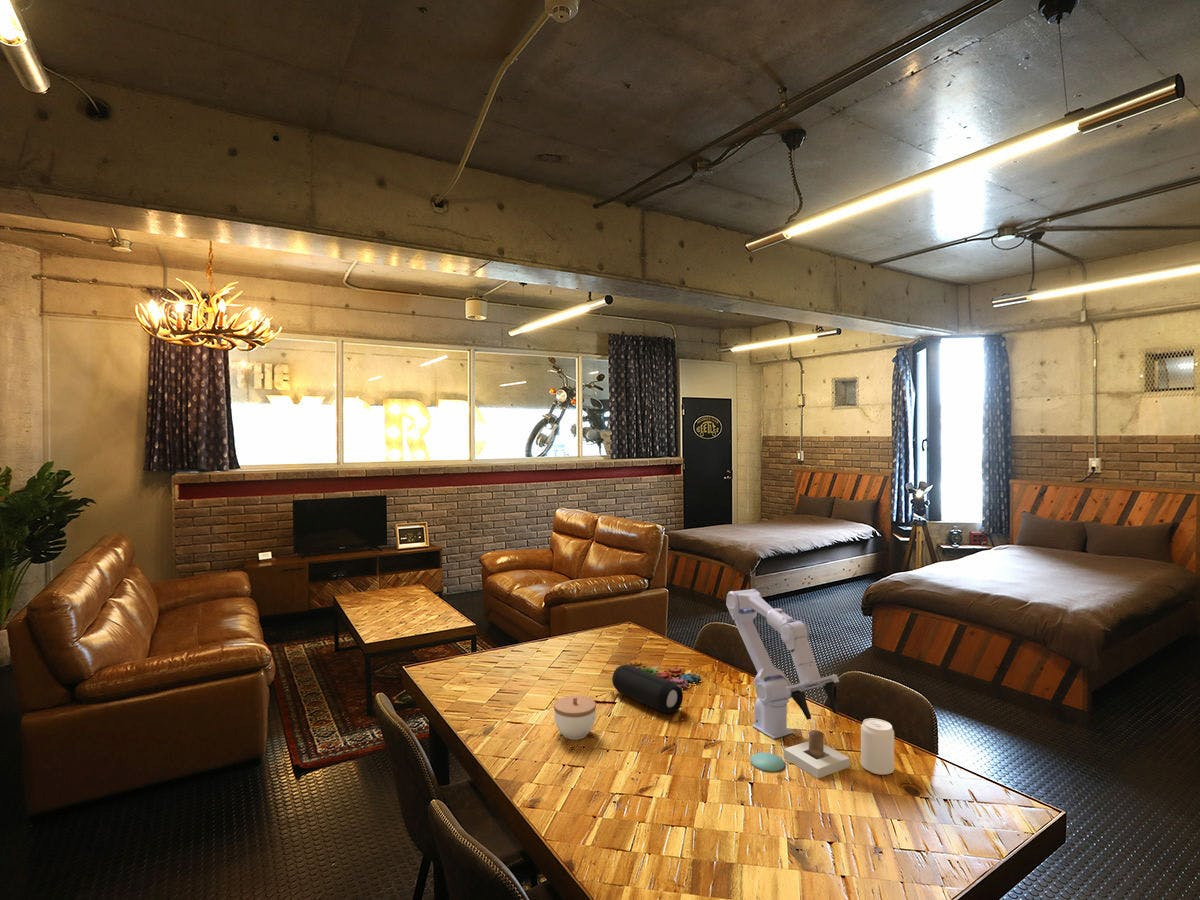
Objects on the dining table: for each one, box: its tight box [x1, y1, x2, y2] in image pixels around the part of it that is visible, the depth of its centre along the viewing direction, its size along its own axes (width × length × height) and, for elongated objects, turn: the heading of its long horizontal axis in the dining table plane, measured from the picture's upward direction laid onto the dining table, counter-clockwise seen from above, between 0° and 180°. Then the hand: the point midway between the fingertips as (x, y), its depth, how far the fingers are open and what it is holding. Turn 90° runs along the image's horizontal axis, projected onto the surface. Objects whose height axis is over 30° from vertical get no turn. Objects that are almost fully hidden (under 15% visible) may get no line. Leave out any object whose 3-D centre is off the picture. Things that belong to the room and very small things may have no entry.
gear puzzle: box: [625, 659, 702, 690], centre depth 231 cm, size 31×16×4 cm, turn 45°
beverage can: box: [860, 717, 895, 776], centre depth 165 cm, size 8×8×12 cm
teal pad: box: [750, 752, 786, 773], centre depth 168 cm, size 9×9×1 cm
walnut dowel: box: [808, 729, 825, 760], centre depth 168 cm, size 4×4×8 cm
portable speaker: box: [611, 664, 684, 714], centre depth 207 cm, size 26×10×10 cm, turn 41°
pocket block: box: [783, 740, 850, 780], centre depth 168 cm, size 12×12×2 cm
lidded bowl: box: [553, 695, 597, 741], centre depth 184 cm, size 13×13×11 cm
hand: (822, 716), depth 167 cm, fingers open, 7 cm apart
